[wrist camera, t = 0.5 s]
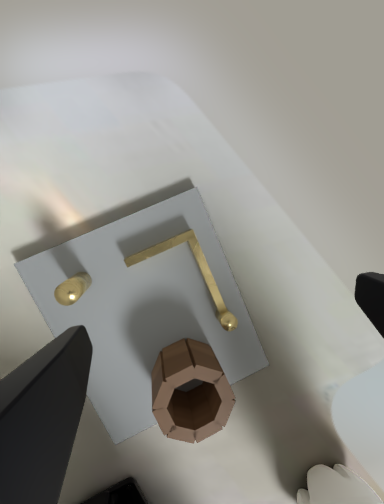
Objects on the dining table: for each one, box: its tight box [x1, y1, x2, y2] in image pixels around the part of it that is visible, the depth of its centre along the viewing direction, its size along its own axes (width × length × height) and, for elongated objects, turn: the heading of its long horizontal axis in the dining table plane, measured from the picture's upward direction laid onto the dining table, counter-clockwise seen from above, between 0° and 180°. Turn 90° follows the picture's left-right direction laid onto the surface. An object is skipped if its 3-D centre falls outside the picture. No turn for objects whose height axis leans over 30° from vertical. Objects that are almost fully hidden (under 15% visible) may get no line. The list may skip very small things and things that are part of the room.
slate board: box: [14, 187, 269, 445], centre depth 20 cm, size 16×14×1 cm
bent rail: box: [124, 229, 238, 331], centre depth 19 cm, size 8×6×2 cm
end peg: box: [54, 272, 92, 306], centre depth 17 cm, size 1×1×4 cm
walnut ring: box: [151, 338, 235, 444], centre depth 19 cm, size 5×5×4 cm
